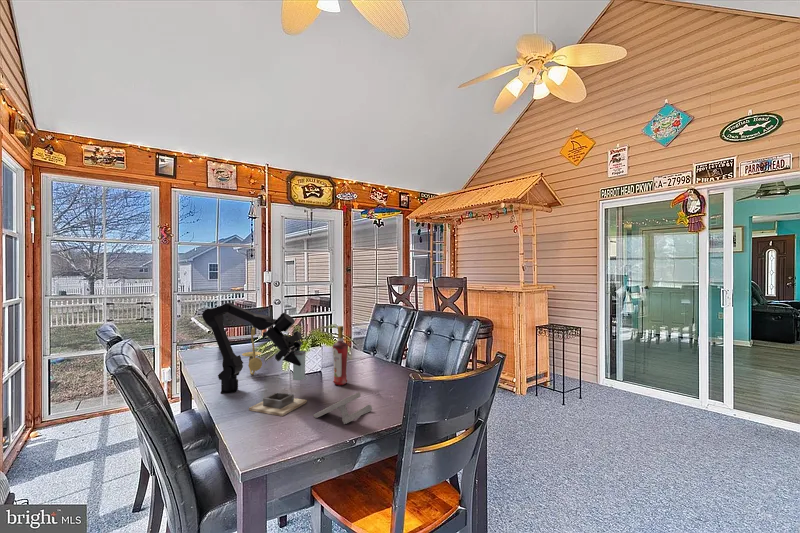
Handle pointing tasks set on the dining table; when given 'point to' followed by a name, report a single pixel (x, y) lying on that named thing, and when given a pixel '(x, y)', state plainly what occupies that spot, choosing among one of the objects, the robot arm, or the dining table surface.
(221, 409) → the dining table surface
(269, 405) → the post socket
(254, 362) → the wall sconce
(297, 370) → the rail end post
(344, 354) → the liquor
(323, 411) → the door handle
